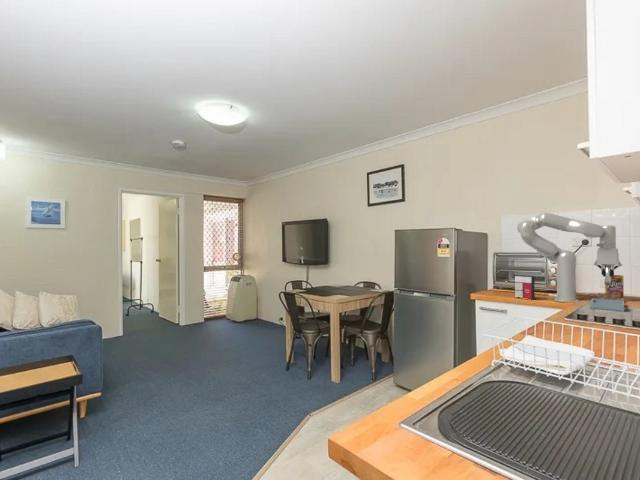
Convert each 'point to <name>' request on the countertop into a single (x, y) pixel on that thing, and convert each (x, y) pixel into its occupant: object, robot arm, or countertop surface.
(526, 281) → the grey and crimson box
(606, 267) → the steel pin
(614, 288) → the candy box
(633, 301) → the countertop surface
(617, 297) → the socket block
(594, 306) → the tray
